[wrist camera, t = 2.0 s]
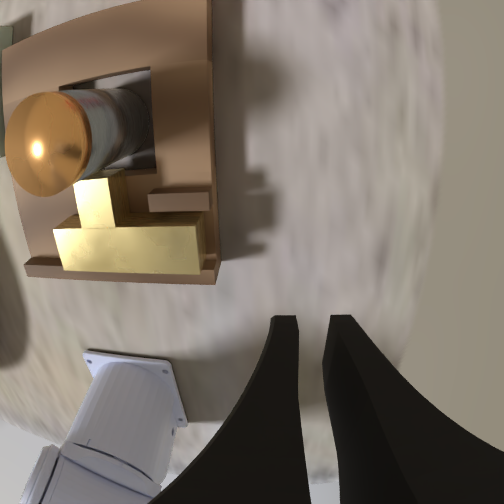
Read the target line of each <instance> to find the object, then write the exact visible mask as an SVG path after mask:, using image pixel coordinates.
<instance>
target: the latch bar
mask: <svg viewBox="0 0 504 504" xmlns="http://www.w3.org/2000/svg"><path fill="white" fill-rule="evenodd" d="M73 185H74V191H75V196H76V202H77V207H78V212H79V215H71V216H70V217H68V218H67V219H66V220H64V221H63V222H62V223H61V224H59V225H58V226H57V227H55V228H54V229H53V232H54V236H55V240H56V243H57V247H58V251H59V254H60V258H61V261H62V265H63V268H64V270H65V271H89V272H117V273H150V274H193V275H200V273H201V271H202V268H203V265H204V262H205V259H206V256H207V251H206V239H205V227H204V214H203V211H174V212H138V213H131V212H130V206H129V199H128V192H127V184H126V176H125V168H119V169H109V170H99V171H97V172H95V173H93V174H91V175H90V176H88V177H86V178H84V179H82V180H80V181H79V182H77V183H75V184H73Z"/></svg>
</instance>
